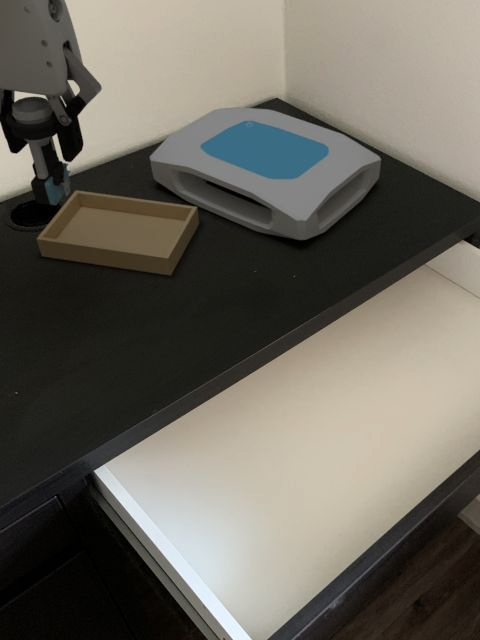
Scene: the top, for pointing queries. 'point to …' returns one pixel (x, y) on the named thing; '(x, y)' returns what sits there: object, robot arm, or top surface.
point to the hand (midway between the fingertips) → (46, 149)
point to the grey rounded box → (267, 170)
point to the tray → (120, 232)
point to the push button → (40, 147)
